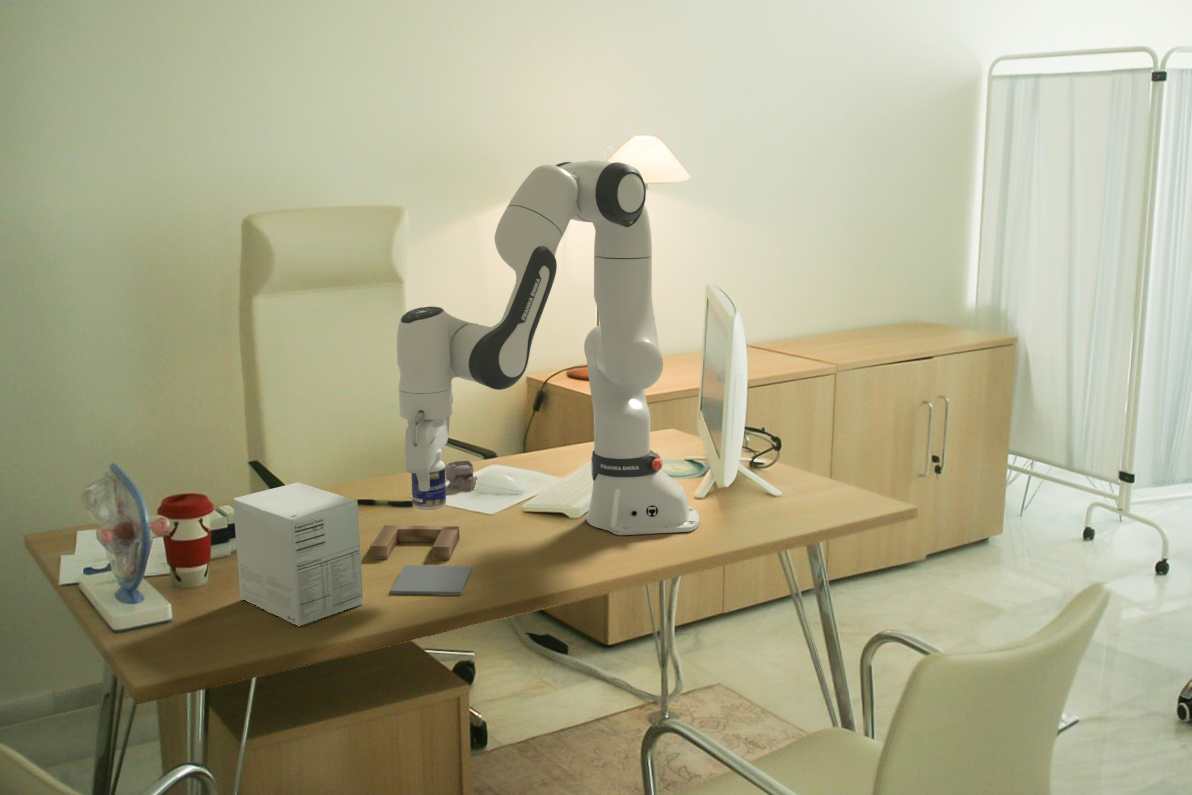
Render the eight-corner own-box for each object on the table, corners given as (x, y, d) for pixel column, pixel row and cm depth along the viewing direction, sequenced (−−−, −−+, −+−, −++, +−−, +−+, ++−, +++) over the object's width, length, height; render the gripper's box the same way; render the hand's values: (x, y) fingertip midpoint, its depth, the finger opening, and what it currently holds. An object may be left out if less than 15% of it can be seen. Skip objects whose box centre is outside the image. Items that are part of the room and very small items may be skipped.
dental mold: (444, 481, 264) (443, 460, 263) (475, 480, 265) (474, 458, 264) (446, 492, 256) (446, 470, 255) (478, 490, 257) (478, 468, 256)
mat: (471, 569, 211) (471, 566, 211) (461, 595, 200) (460, 591, 199) (405, 568, 212) (405, 565, 212) (390, 594, 200) (390, 590, 200)
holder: (459, 538, 227) (459, 526, 226) (449, 559, 216) (448, 546, 215) (385, 537, 228) (384, 525, 227) (371, 558, 217) (370, 545, 216)
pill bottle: (429, 513, 199) (427, 456, 197) (405, 506, 202) (403, 450, 200) (453, 504, 203) (451, 448, 201) (429, 498, 207) (427, 443, 204)
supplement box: (366, 604, 196) (361, 500, 192) (298, 629, 186) (291, 520, 182) (305, 578, 207) (299, 479, 203) (237, 601, 198) (229, 497, 194)
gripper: (433, 419, 188) (436, 502, 192) (454, 391, 208) (457, 467, 211) (393, 419, 189) (397, 502, 192) (418, 391, 209) (421, 467, 212)
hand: (428, 483), depth 202 cm, fingers closed on pill bottle, 6 cm apart
